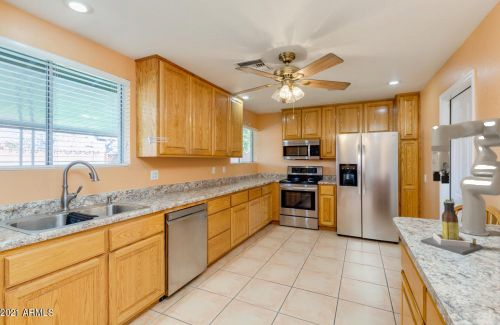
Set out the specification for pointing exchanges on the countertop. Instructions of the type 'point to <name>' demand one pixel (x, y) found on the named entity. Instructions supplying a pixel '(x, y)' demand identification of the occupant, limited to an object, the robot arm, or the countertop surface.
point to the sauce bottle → (450, 222)
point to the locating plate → (451, 248)
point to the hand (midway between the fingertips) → (440, 182)
